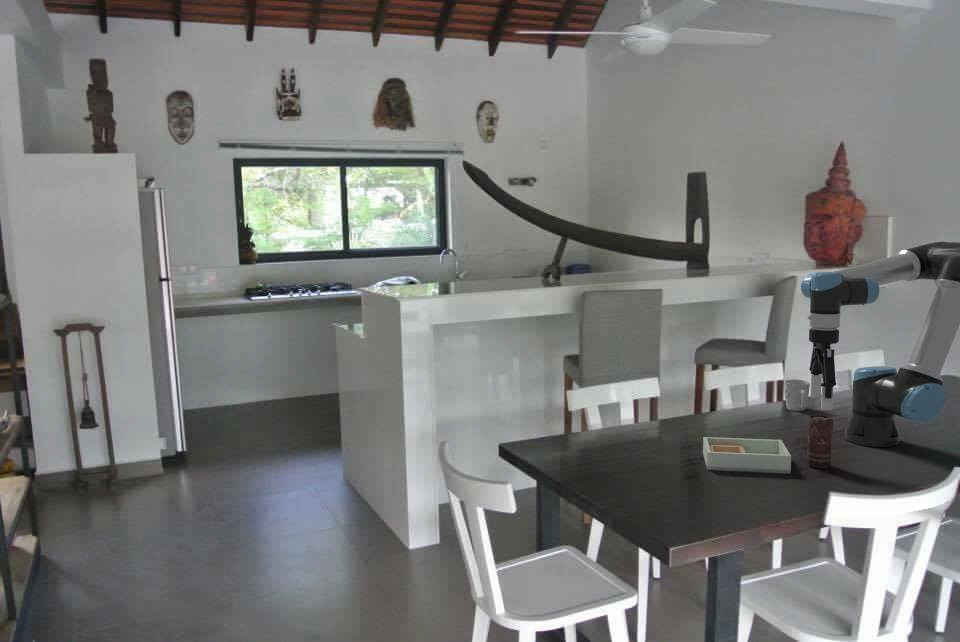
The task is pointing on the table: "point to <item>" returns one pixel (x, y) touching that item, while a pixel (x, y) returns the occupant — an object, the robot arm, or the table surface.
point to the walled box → (746, 455)
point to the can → (819, 441)
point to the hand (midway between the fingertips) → (820, 403)
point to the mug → (796, 394)
